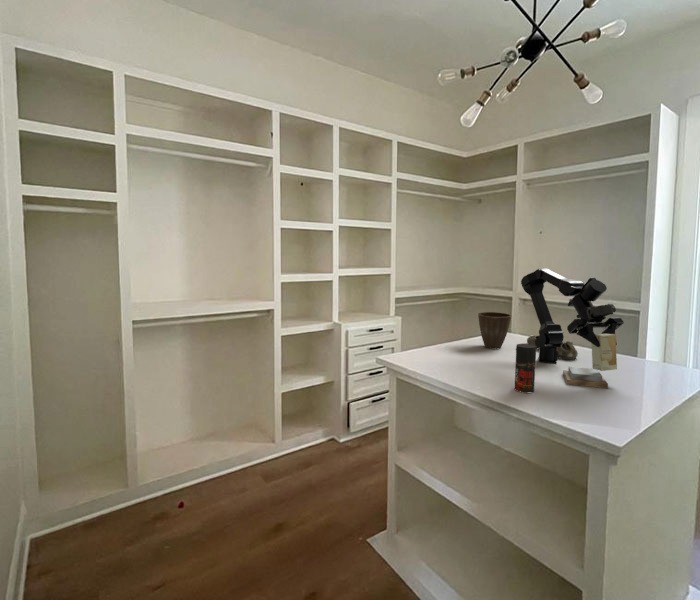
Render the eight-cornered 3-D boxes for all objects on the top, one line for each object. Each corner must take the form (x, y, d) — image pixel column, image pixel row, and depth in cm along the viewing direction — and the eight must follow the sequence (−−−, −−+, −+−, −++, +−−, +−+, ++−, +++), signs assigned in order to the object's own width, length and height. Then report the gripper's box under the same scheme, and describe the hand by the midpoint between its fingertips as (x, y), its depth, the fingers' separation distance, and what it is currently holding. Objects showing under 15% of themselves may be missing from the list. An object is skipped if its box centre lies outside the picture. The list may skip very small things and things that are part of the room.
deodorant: (510, 388, 132) (512, 344, 131) (523, 386, 135) (525, 342, 133) (524, 394, 127) (526, 348, 125) (538, 391, 129) (540, 346, 128)
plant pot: (513, 346, 192) (515, 313, 190) (504, 352, 180) (505, 317, 178) (483, 342, 201) (484, 311, 199) (472, 347, 189) (473, 314, 188)
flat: (543, 343, 199) (544, 328, 199) (584, 360, 167) (586, 343, 166) (522, 343, 199) (522, 328, 198) (559, 361, 167) (560, 343, 166)
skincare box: (602, 371, 134) (600, 335, 134) (592, 369, 138) (590, 334, 138) (618, 369, 135) (616, 333, 135) (607, 367, 140) (605, 332, 139)
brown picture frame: (567, 383, 137) (567, 374, 136) (563, 374, 148) (563, 365, 147) (607, 388, 132) (608, 378, 132) (600, 377, 143) (601, 368, 143)
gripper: (575, 296, 136) (598, 334, 127) (621, 295, 140) (647, 332, 130) (558, 314, 145) (578, 351, 136) (602, 313, 148) (624, 349, 139)
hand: (607, 346), depth 135 cm, fingers closed on skincare box, 6 cm apart
